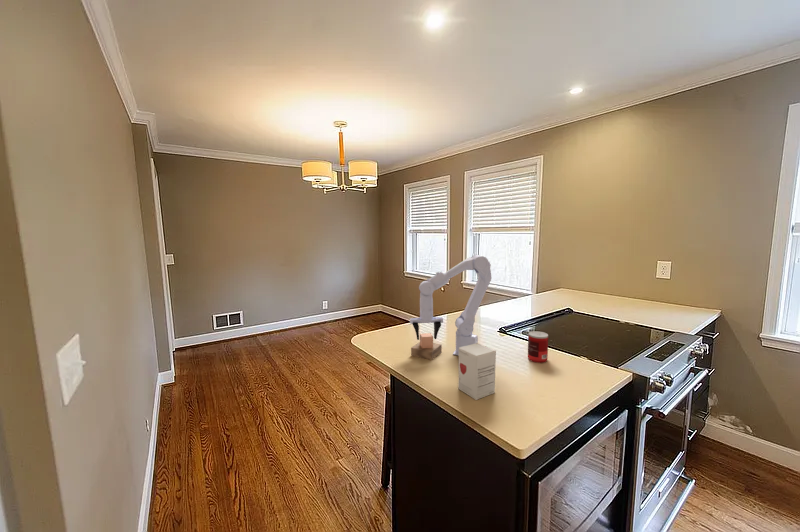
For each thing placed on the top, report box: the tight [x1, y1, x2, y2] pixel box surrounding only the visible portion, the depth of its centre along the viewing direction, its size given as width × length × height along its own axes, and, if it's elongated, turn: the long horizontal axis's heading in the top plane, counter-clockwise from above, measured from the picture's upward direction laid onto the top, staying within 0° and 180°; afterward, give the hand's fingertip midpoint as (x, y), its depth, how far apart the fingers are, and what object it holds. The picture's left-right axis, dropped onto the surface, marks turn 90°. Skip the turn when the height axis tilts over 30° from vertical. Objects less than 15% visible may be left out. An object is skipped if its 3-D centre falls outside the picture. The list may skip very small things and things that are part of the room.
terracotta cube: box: [419, 332, 434, 348], centre depth 144 cm, size 5×5×5 cm
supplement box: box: [457, 342, 497, 401], centre depth 110 cm, size 9×9×15 cm
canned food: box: [527, 330, 549, 364], centre depth 136 cm, size 8×8×11 cm
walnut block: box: [410, 341, 443, 361], centre depth 144 cm, size 10×10×4 cm
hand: (426, 338), depth 144 cm, fingers open, 7 cm apart
